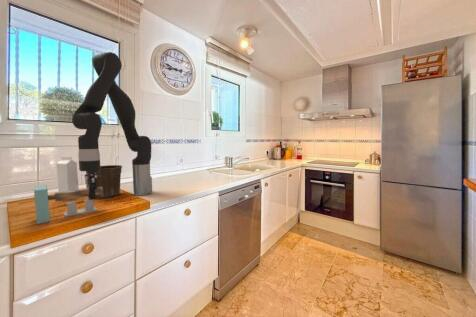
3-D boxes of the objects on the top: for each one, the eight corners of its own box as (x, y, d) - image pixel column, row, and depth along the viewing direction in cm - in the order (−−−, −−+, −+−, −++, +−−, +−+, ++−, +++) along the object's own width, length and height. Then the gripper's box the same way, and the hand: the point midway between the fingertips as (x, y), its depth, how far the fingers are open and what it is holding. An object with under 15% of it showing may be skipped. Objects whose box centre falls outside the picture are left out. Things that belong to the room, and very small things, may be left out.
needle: (101, 192, 94) (101, 186, 94) (103, 194, 92) (102, 187, 92) (45, 201, 82) (44, 193, 81) (45, 202, 80) (44, 195, 79)
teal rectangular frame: (49, 215, 85) (47, 185, 84) (49, 221, 79) (47, 189, 78) (37, 217, 83) (35, 186, 82) (37, 224, 76) (34, 190, 75)
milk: (69, 199, 108) (65, 157, 105) (58, 199, 108) (55, 157, 106) (79, 196, 114) (76, 156, 111) (69, 196, 114) (66, 156, 112)
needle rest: (95, 208, 94) (94, 197, 94) (97, 210, 91) (96, 199, 90) (64, 214, 87) (63, 202, 86) (64, 216, 83) (63, 204, 83)
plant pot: (85, 200, 105) (83, 169, 104) (93, 193, 120) (92, 165, 119) (121, 197, 111) (120, 168, 110) (125, 190, 126) (124, 164, 125)
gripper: (103, 160, 87) (105, 200, 88) (97, 157, 97) (99, 194, 99) (80, 161, 82) (83, 203, 83) (76, 158, 92) (79, 196, 93)
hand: (91, 198), depth 91 cm, fingers closed on needle, 2 cm apart
